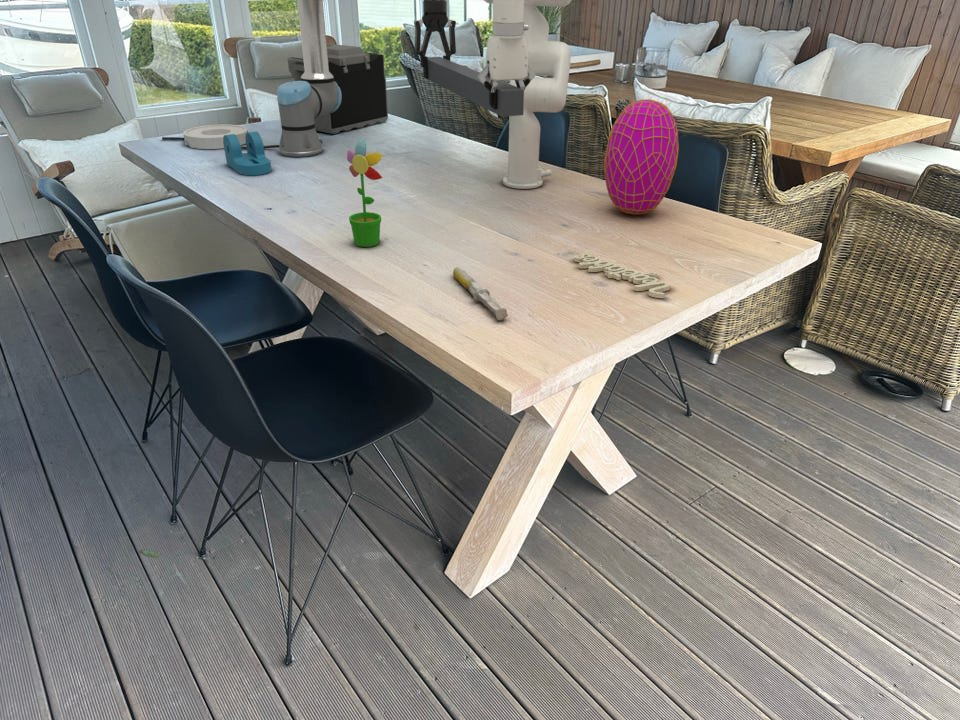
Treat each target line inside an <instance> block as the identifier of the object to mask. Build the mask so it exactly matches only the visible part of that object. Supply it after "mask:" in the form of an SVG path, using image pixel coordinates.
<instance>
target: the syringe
mask: <svg viewBox="0 0 960 720" xmlns="http://www.w3.org/2000/svg"><path fill="white" fill-rule="evenodd" d="M452 274H453V277H454V279H455V280H457V281H458V282H459V283H460V285H462V287H464V289H466V290H467V291H468V293H470V295H471V296H472V298H473V300H474V302H477V303H478V302H480V303H482V304H483V305H484V306H485V307H486V308H487V309H488V310H489V311H490V312H491V313H492V314H493V315H494V316H495V317H496V320H497V321H503V320H504V319H506V318H507V317H509V314H508V310H507V308H506V307H502V306H501V305H500V303H498V302H497V301H496V300H494V299H493V298H492V297H491V296H490V295H491V293H490V290H488V289H486V288H483V287H482V286H481V285H480V284H479V283H478V282H477V281H476V280H474V278H473V277H471V275H469V274H468V273H467V272H466V270H465V269H464V268H463V267H462V266H456V267H454V268H453V271H452Z"/></svg>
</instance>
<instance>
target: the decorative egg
mask: <svg viewBox="0 0 960 720" xmlns="http://www.w3.org/2000/svg"><path fill="white" fill-rule="evenodd" d="M671 111H672V110H670V108H669V107H668V106H667V105H666V104H664V103H662V102H660V101H658V100H654V99H649V98H647V99H639V100H636V101H633V102H630V103H629V104H628V105H626V106H625V107H624V108H623V109H622V111H621V112H620V114H619V115H618V117H617V118H616V120H615V121H614V123H613V125H612V127H611V130H610V133H609V136H608V140H607V144H606V148H605V153H604V161H603V170H604V171H603V172H604V179H605V187H606V190H607V194H608V197H609V198H610V200H611V202H612V204H613V205H614V206H615V207H616V208H617V209H618V210H619V211H621V212H623V213H625V214H628V215H645V214H647V213H650V212H651V211H653V210H655V209H656V208H657V207H658V206H659V205H660V203H661V202H662V201H663V199H664V198H665V196H666V195H667V193H668V191H669V189H670V187H671V184H672V181H673V178H674V176H675V172H676V169H677V165H678V159H679V147H680V146H679V145H680V144H679V131H678V126H677V122H676V120H675V117H674V115H673V113H672V112H671Z"/></svg>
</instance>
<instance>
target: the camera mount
mask: <svg viewBox="0 0 960 720" xmlns="http://www.w3.org/2000/svg"><path fill="white" fill-rule="evenodd" d="M245 139H246V144H245V147H247V149H246V152H243V151H242V150H243V149H241V147H242V145H240V142H239V140H238V138H237V136H236V135H235V134H230V135H224V137H223V144H224V148H223V149H224V150H223V151H224V156H225V161H226V165H227V166H228V167H230V168H231V169H232V170H234V171H236V172H237V173H238V174H239V175H244V176H260V175H265V174H268V173H271V172H272V164H271V159H270V158H268V157H267V156H266V153H265V149H264V146H265V145H264V141H263V139H262V136H261V134H260V132H258V131H248V132H247V133H246V137H245Z"/></svg>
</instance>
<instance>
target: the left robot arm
mask: <svg viewBox="0 0 960 720" xmlns="http://www.w3.org/2000/svg"><path fill="white" fill-rule="evenodd" d="M447 2H448V1H447V0H422V16H421V19H418V20H416V19H415V20H414V21H413V25H414V54H416V55H417V56H419V58H420V59H419V60H420V64H419V65H420V67H421V68H422V70H423V71H422V75H424V77H423V79H425V80H428V79H427V78H428V56H426V54H427V51H428V46H429V43H430V39H431V37H432V33H435V32H437V33H438V34H439V36H440V41H441V44H442V47H443V52H444V54H445V55H442V58H444V59H447V60H449V61H451V57H452V56H453V55H456V54H457V47H456V46H457V45H456V43H457V42H456V29H455V28H456V25H457V21H456V20H454V19H449V17H448V14H447V13H448V5H447V4H448V3H447ZM296 4H297V12H298V22H299V31H300V32H299V33H300V41H301V48H302V49H301V50H302V59H303V60H304V69H305V72H304V74H303V75H302V76H301V81H295V80H292V81H287V82H284V83H282V84H279V86H277V89H276V94H277V95H276V96H277V97H276V100H277V105H278V106H277V107H278V112H279V119H280V127H281V134H280V141H279V144H269V145H264V150H266V149H276V148H277V149H278V151H279V154H280V155H281V156H284V157H291V158H304V157H306V158H307V157H313V156H317V155H320V154H321V153H323V151H324V150H323V140H322V139H320V138H319V135H318V133H317V131H316V130H315V122H314V118H316V117H320V116H323V115H328V114H330V113H332V112H334V111H336V110H337V109H338V108H339V106H340V104H341V100H342V94H341V90H340V87H338V86H337V85H338V84H337V83H336V82H335V81H334V76H333V75H332V74H331V73H330V72H329V66H328V55H327V45H328V44H327V34H326V24H325V23H326V22H325V12H324V0H296ZM423 25H424V26H425V31H424V36H423V40H422V39H421V37H422V27H423ZM446 25H447V26H448V36H449V43H448V39H447V35H446V30H445V27H446ZM421 40H422V44H421ZM161 140H163V141H185V140H184V137H177V136H162V137H161ZM241 150H247V147H246V146H241Z"/></svg>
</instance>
